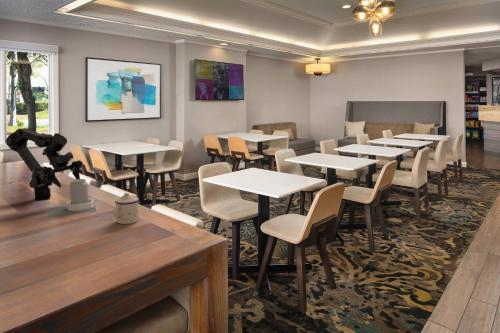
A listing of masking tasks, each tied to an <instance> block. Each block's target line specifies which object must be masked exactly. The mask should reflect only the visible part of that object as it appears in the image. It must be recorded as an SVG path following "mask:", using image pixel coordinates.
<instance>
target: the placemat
mask: <svg viewBox="0 0 500 333" xmlns="http://www.w3.org/2000/svg"><path fill="white" fill-rule="evenodd" d="M96 212H97V207H96V205H95V203H94V207H93V208H92V209H89V210H84V211H69V210H67V205H60V206H51V207H48V213H47V218H57V217H63V216H64V217H65V216H73V215H80V214H88V213H89V214H90V213H96Z"/></svg>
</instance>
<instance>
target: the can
mask: <svg viewBox="0 0 500 333" xmlns="http://www.w3.org/2000/svg"><path fill="white" fill-rule="evenodd" d="M69 195H70V196H69V197H70V200H71V204H85V203H89V198H90V196H89V184H88V182H87V181H86V179H84V178H80V179H76V178H75V179H72V180H70V183H69Z"/></svg>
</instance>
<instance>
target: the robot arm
mask: <svg viewBox="0 0 500 333" xmlns="http://www.w3.org/2000/svg"><path fill="white" fill-rule="evenodd" d="M29 141H31V142H33V143H34V144H35V146H37V147H38V148H39V149H40V148H44V149H43V151H42V156H46V158H47V160H48V161H49V165H50V166H41V164H40V163H39V161H38V160H37V158H35V156H34V155H33V154H32V152H31V151H30V149H29V148H28V142H29ZM5 144H6V146H7V147H8V148H9V149H10V150H11V151H14V152H15V153H17V154H18V155H19V156H20V158H21V160H22V161H23V162H24V164H25V165H26V166H27V168H28V169H29V170H30V172H31V179H30V181H29V184H28V185H29V188H31V189H33V191H34V201H42V200H49V199H50V198H51V196H52V195H51V194H52V193H51V188H50V187H49V186H53V184H54V185H55V186H57V187H58V188H62V184H61V183H60V181H59V180H58V178H57V175H56V173H60V172H65V171H68V170H70V171H71V174H72V176H74V179H75V180H76V179H81V176H80V170H81V169H82V167H83V165H84V163H83V161H82V160H81V159H79V160H74V161H72V159H74V154H73V153H72V151H70V152H69V151H68V152H67V153H65V154H61V151H62V150H63V149H64V148H65V146H66V144H68V139H67V137H65V136H63V135H62V134H60V133H59V132H56V133H55V132H54V134H49V133H45V134H44V133H39V132H35V131H34V130H31V129H30V128H27V127H24V128H22V127H20V128H17V129H16V130H15V131H14V132H12V133H11V134H8V136H7V137H6V139H5ZM71 161H72V162H71ZM70 162H71V164H69V163H70Z"/></svg>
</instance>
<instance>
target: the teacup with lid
mask: <svg viewBox="0 0 500 333" xmlns="http://www.w3.org/2000/svg"><path fill="white" fill-rule="evenodd" d="M139 200H140V199H139V197H137V196H133V195H131V194H130V192H124V193H123V195H121V196H120V197H118V198H116V199H115V201H114V203H115V208H113V210H112V214H113V217H114V219H115V220H116V222H117V223H118V224H120V225H121V224H122V225H131V224H135V223H138V222H139V220H140V211H139V210H140V208H139Z"/></svg>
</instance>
